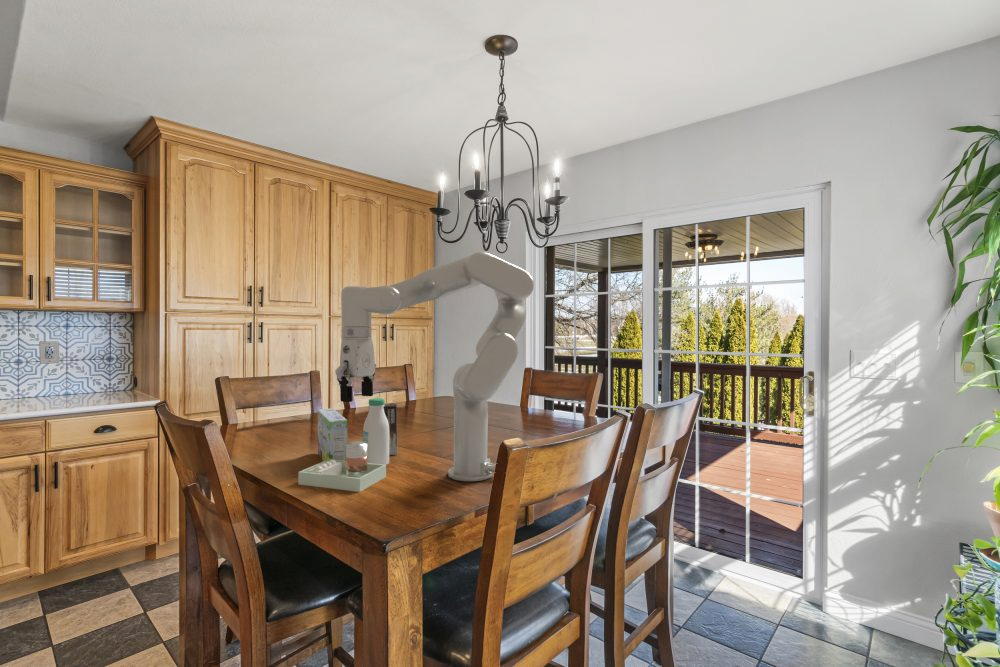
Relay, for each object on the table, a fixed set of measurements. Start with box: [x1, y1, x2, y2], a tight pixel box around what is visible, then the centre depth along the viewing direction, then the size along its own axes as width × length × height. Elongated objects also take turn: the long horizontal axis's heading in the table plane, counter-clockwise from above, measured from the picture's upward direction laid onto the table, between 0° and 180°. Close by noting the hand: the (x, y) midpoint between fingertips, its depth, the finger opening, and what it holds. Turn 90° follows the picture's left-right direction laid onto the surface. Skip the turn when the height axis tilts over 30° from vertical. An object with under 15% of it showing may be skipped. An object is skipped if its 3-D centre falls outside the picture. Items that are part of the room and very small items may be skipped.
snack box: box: [316, 407, 349, 462], centre depth 150 cm, size 21×6×15 cm, turn 30°
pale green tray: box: [297, 459, 387, 493], centre depth 131 cm, size 18×13×4 cm
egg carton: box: [308, 460, 342, 476], centre depth 133 cm, size 4×9×4 cm, turn 164°
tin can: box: [346, 440, 368, 478], centre depth 130 cm, size 6×6×10 cm
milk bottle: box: [362, 397, 390, 466], centre depth 148 cm, size 8×8×20 cm
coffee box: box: [368, 402, 398, 456], centre depth 162 cm, size 9×6×16 cm
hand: (357, 398), depth 130 cm, fingers open, 9 cm apart
